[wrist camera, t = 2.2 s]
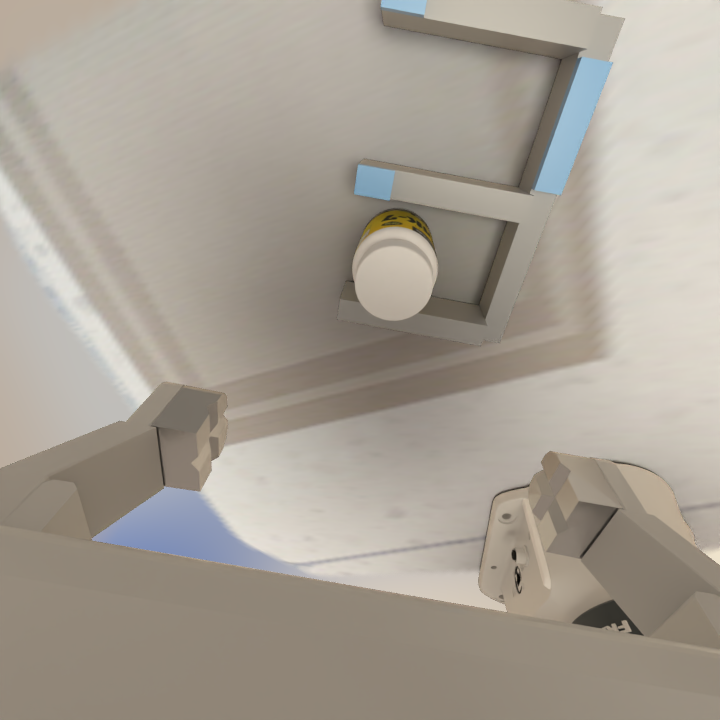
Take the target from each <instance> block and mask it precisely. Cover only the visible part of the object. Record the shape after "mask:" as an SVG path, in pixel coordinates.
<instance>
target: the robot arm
mask: <svg viewBox="0 0 720 720" xmlns="http://www.w3.org/2000/svg"><path fill="white" fill-rule="evenodd" d="M227 407H228V402H227V395H226V394H225V393H222V392H217V391H212V390H207V389H202V388H197V387H192V386H187V385H186V386H185V385H181V384H176V383H171V382H164V383H161V384H160V385H159V386H158V387H157V388H156V389H155V391H154V392H153V393H152V394H151V395H150V396H149V397H148V398H147V399H146V400H145V401H144V403H143V404H142V405H141V406H140V407H139V408H138V409H137V410H136V411H135V412H134V414H133V415H132V416H131V417H130V418H129V419H128V420H127V421H126V422H123V421H118V422H116V423H113V424H110V425H108V426H106V427H103V428H100V429H98V430H95V431H93V432H90V433H88V434H85V435H83V436H80V437H78V438H75V439H73V440H70V441H68V442H65V443H63V444H60V445H58V446H55V447H53V448H50V449H48V450H45V451H42V452H40V453H37V454H35V455H32V456H30V457H27V458H25V459H23V460H20V461H17V462H15V463H12V464H10V465H7V466H5V467H2V468H1V469H0V720H720V565H719V564H717V563H716V562H715V561H713V560H712V559H711V558H709V557H708V556H707V555H706V554H704V553H703V552H702V551H700V550H699V549H698V548H697V546H696V545H695V543H694V540H695V537H694V535H693V533H692V531H691V529H690V527H689V526H688V524H687V523H686V522H685V521H684V520H683V517H682V515H681V512H680V510H679V507H678V505H677V501H676V498H675V496H674V493H673V491H672V489H671V488H670V486H669V485H668V484H667V483H666V482H665V481H664V480H663V479H662V478H660V477H659V476H657V475H656V474H654V473H652V472H650V471H648V470H645V469H643V468H640V467H636V466H632V465H626V464H618V463H613V462H612V461H610V460H604V459H597V458H591V457H590V458H587V457H582V456H576V455H570V454H564V453H558V452H553V451H549V452H548V453H547V454H546V455H545V456H544V458H543V460H542V461H541V464H542V466H543V469H544V470H542V471H540V472H538V473H536V474H535V475H534V476H533V478H532V480H531V482H530V485H529V487H526V488H522V489H517V490H512V491H508V492H505V493H502V494H500V495H498V496H496V497H495V499H494V501H493V505H492V510H491V515H490V520H489V526H488V531H487V536H486V542H485V547H484V552H483V557H482V563H481V568H480V573H479V579H478V583H479V588H480V591H481V592H482V593H484V594H485V595H486V596H488V597H490V598H491V599H493V600H495V601H498V602H500V603H503V604H505V605H506V609H507V612H502V611H496V610H490V609H485V608H478V607H473V606H467V605H461V604H456V603H449V602H444V601H438V600H433V599H427V598H421V597H415V596H409V595H404V594H398V593H392V592H386V591H380V590H375V589H368V588H363V587H357V586H351V585H346V584H340V583H334V582H329V581H323V580H317V579H311V578H305V577H300V576H294V575H288V574H282V573H276V572H271V571H265V570H259V569H253V568H247V567H241V566H236V565H230V564H224V563H218V562H212V561H207V560H201V559H195V558H189V557H184V556H178V555H172V554H166V553H161V552H155V551H149V550H143V549H137V548H131V547H126V546H120V545H114V544H108V543H103V542H96V541H92V538H93V537H94V536H96V535H97V534H98V533H100V532H101V531H103V530H104V529H106V528H107V527H109V526H110V525H111V524H113V523H114V522H116V521H117V520H119V519H120V518H122V517H123V516H124V515H126V514H127V513H129V512H130V511H132V510H133V509H134V508H136V507H137V506H139V505H140V504H142V503H143V502H145V501H146V500H148V499H149V498H151V497H152V496H153V495H155V494H156V493H158V492H159V491H161V490H162V489H164V486H166V487H173V488H180V489H187V490H193V491H201V489H202V487H203V485H204V484H205V482H206V480H207V478H208V476H209V474H210V472H211V471H212V466H211V461H212V460H214V459H216V458H218V457H219V456H220V454H221V452H222V450H223V447H224V444H225V441H226V438H227V431H228V420H227V419H226V417H225V416H224V415H223V414H224V412H225V410H226V409H227Z"/></svg>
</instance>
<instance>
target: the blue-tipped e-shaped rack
mask: <svg viewBox="0 0 720 720" xmlns="http://www.w3.org/2000/svg"><path fill="white" fill-rule="evenodd" d="M602 8H603V7H599V6H594V5H589V4H583V3H578V2H573V1H567V0H382V1H381V12H382V17H383V23H384V26H389V27H394V28H399V29H404V30H410V31H415V32H420V33H426V34H431V35H436V36H442V37H447V38H452V39H458V40H463V41H468V42H474V43H479V44H484V45H489V46H495V47H500V48H505V49H511V50H516V51H521V52H527V53H532V54H537V55H543V56H548V57H553V58H559V59H562V61H561V64H560V67H559V70H558V73H557V76H556V78H555V81H554V84H553V87H552V90H551V93H550V96H549V99H548V102H547V105H546V108H545V111H544V114H543V117H542V120H541V123H540V126H539V129H538V132H537V135H536V138H535V141H534V144H533V147H532V150H531V153H530V156H529V159H528V162H527V165H526V167H525V170H524V173H523V176H522V179H521V182H520V185H519V187H514V186H508V185H503V184H498V183H492V182H487V181H482V180H476V179H471V178H465V177H460V176H455V175H449V174H444V173H439V172H433V171H428V170H423V169H417V168H412V167H406V166H401V165H396V164H390V163H385V162H380V161H374V160H369V159H363V160H362V161H361V162H360V163H359V164H358V169H357V176H356V183H355V190H354V194H356V195H361V196H367V197H372V198H377V199H383V200H388V201H390V199H393V200H398V201H403V202H409V203H414V204H419V205H425V206H430V207H436V208H441V209H446V210H452V211H457V212H462V213H468V214H473V215H478V216H484V217H489V218H495V219H500V220H505V221H507V224H506V227H505V230H504V233H503V236H502V239H501V242H500V245H499V248H498V251H497V253H496V256H495V259H494V262H493V265H492V268H491V271H490V274H489V277H488V280H487V283H486V286H485V289H484V292H483V295H482V298H481V301H480V304H479V305H475V304H469V303H464V302H458V301H453V300H448V299H442V298H437V297H430V299H429V301H428V302H427V304H426V305H425V307H424V308H423V309H422V310H421V311H419V312H418V313H417V314H415V315H414V316H412V317H409V318H407V319H403V320H398V321H390V320H384V319H381V318H378V317H376V316H374V315H372V314H371V313H369V312H368V311H367V310H366V309H365V308H364V307H363V306H362V304H361V303H360V301H359V300H358V297H357V295H356V291H355V282H350V281H346V282H345V285H344V288H343V291H342V294H341V297H340V300H339V307H338V314H337V320H341V321H347V322H352V323H357V324H363V325H368V326H374V327H379V328H385V329H390V330H395V331H401V332H406V333H412V334H417V335H423V336H428V337H433V338H439V339H444V340H450V341H455V342H460V343H466V344H471V345H477V346H481V344H482V341H483V340H485V341H490V342H495V343H500V341H501V339H502V336H503V334H504V331H505V328H506V326H507V323H508V321H509V318H510V315H511V313H512V310H513V308H514V305H515V302H516V300H517V297H518V295H519V292H520V289H521V287H522V284H523V282H524V279H525V277H526V274H527V271H528V269H529V266H530V264H531V261H532V258H533V256H534V253H535V251H536V248H537V245H538V243H539V240H540V238H541V235H542V232H543V230H544V227H545V225H546V222H547V219H548V217H549V214H550V212H551V209H552V207H553V204H554V201H555V199H556V196H557V195H561V194H562V192H563V189H564V187H565V184H566V181H567V179H568V176H569V174H570V171H571V169H572V166H573V163H574V161H575V158H576V156H577V153H578V151H579V148H580V146H581V143H582V140H583V138H584V135H585V133H586V130H587V128H588V125H589V123H590V120H591V117H592V115H593V112H594V110H595V107H596V105H597V102H598V100H599V97H600V94H601V92H602V89H603V87H604V84H605V82H606V79H607V77H608V74H609V71H610V69H611V66H612V64H613V62H608V61H609V59H610V56H611V54H612V51H613V48H614V46H615V43H616V41H617V38H618V35H619V33H620V30H621V28H622V25H623V23H624V20H625V18H620V17H615V16H610V15H604V14H600V13H601V11H602Z"/></svg>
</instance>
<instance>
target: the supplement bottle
mask: <svg viewBox="0 0 720 720" xmlns="http://www.w3.org/2000/svg"><path fill="white" fill-rule="evenodd" d="M352 274H353V279H354V282H355V291H356V295H357V297H358V300H359V301H360V303H361V304H362V306H363V307H364V308H365V309H366V310H367V311H368V312H369V313H371V314H372V315H374V316H376V317H378V318H381V319H384V320H390V321H398V320H403V319H407V318H409V317H412V316H414V315H415V314H417V313H418V312H419V311H421V310H422V309H423V308H424V307H425V305H426V304H427V302H428V301H429V299H430V297H431V294H432V290H433V287H434V285H435V282H436V279H437V274H438V261H437V256H436V252H435V248H434V244H433V240H432V236H431V233H430V230H429V228H428V226H427V224H426V223H425V221H424V220H423V219H422V218H421V217H420V216H418V215H417V214H415V213H414V212H412V211H409V210H405V209H389V210H385V211H383V212H381V213H379V214H377V215H376V216H375V217H374V218H372V219H371V221H370V222H369V223H368V224H367V226H366V228H365V230H364V232H363V235H362V237H361V240H360V242H359V244H358V247H357V249H356V252H355V255H354V258H353V263H352Z"/></svg>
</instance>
